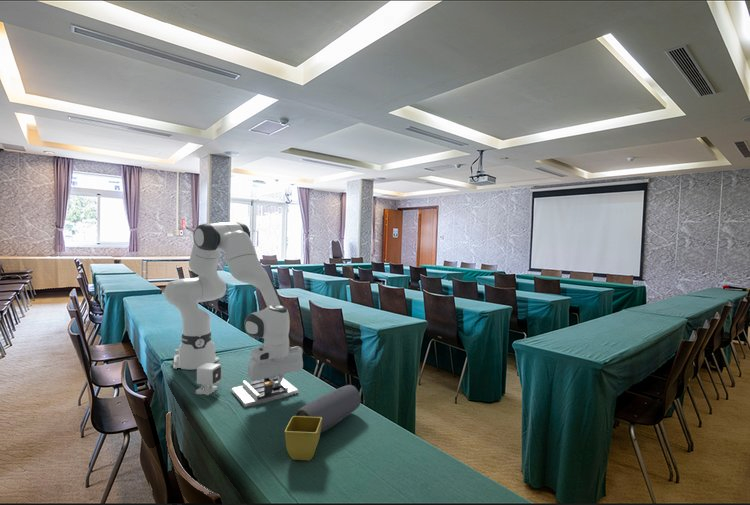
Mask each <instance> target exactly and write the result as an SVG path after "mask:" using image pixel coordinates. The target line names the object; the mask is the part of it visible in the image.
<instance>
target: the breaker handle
mask: <svg viewBox="0 0 750 505" xmlns="http://www.w3.org/2000/svg"><path fill="white" fill-rule="evenodd" d="M272 384H273V383H272V382H271V381H269V382H265V383H264V393H265V394H268V393H272Z"/></svg>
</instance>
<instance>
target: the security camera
mask: <svg viewBox="0 0 750 505" xmlns="http://www.w3.org/2000/svg"><path fill="white" fill-rule="evenodd" d="M222 369H223V367H222V363H221V364H220V363H205V364H203V365H201V366H200V367H198V368H197V369H196V384H197V385H202V386H200V387H199V388H197V389H196V390H195V394H196V395H202V394H206V395H205V396H210V395H211V394H212V392H213V393H215V392H216V391H217V390H218V386H217V384H218V383H220V382H221V381H222V378H223V377H222V376H223V372H222V371H223V370H222ZM203 388H204V390H203ZM215 390H216V391H215ZM210 393H211V394H210ZM209 394H210V395H209Z"/></svg>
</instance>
